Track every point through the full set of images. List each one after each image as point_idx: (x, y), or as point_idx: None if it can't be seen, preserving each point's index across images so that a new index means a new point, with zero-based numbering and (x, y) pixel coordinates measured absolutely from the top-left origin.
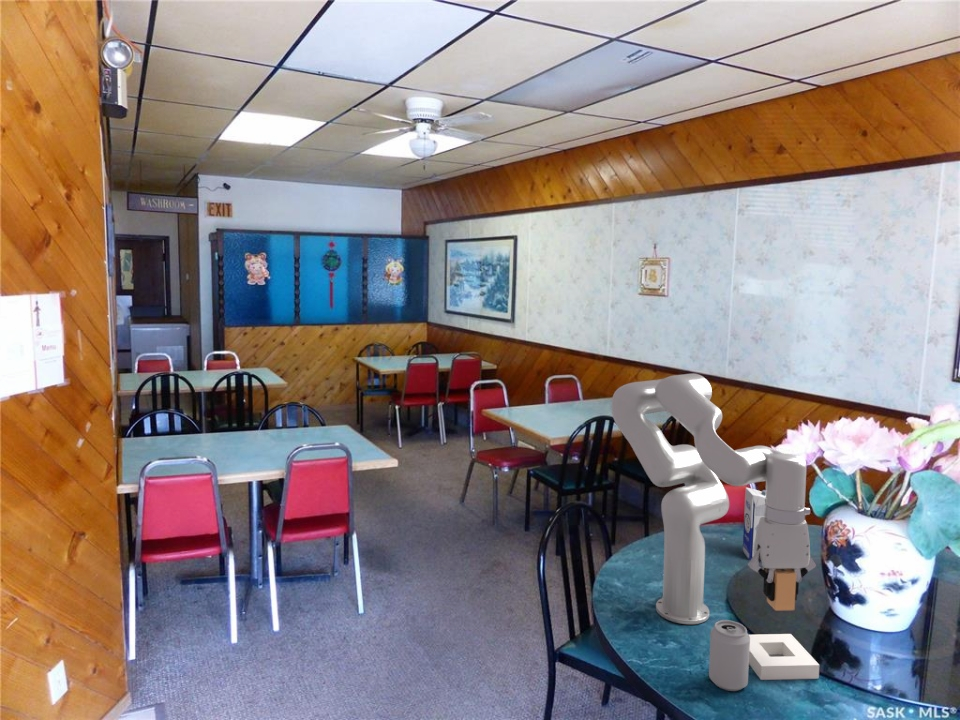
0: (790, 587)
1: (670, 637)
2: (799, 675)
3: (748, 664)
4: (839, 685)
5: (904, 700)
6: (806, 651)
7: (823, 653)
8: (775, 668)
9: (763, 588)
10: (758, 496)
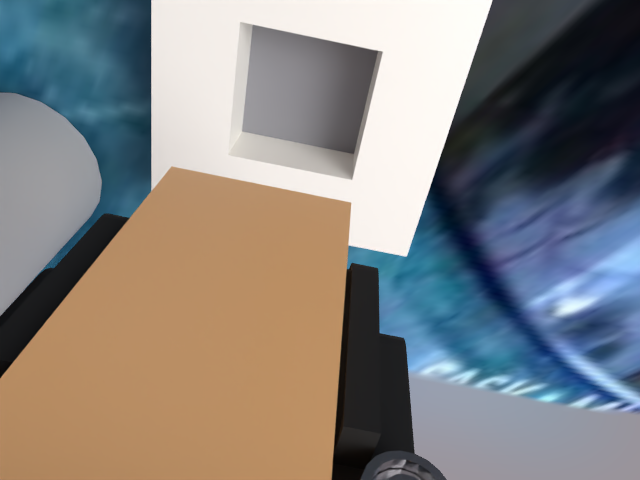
0: None
1: None
2: None
3: (47, 263)
4: (446, 269)
5: (580, 368)
6: (436, 159)
7: (598, 70)
8: None
9: (28, 286)
10: None
